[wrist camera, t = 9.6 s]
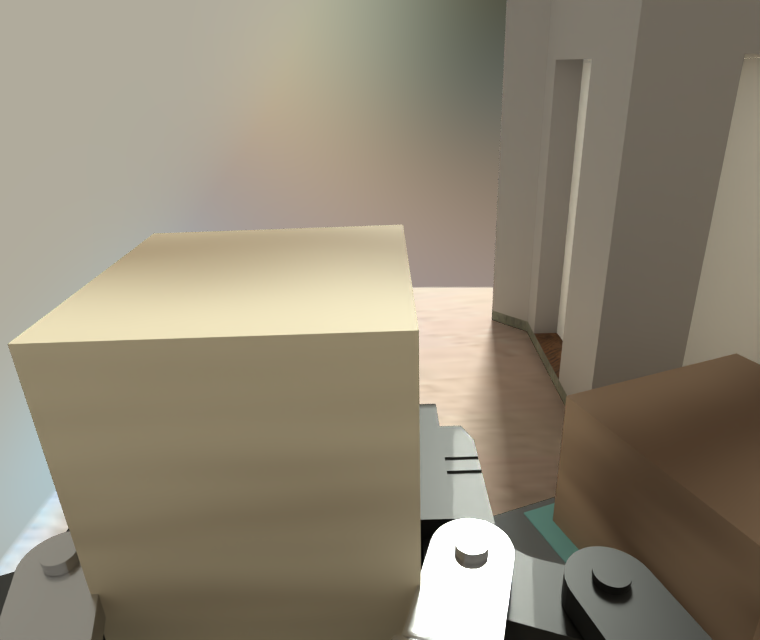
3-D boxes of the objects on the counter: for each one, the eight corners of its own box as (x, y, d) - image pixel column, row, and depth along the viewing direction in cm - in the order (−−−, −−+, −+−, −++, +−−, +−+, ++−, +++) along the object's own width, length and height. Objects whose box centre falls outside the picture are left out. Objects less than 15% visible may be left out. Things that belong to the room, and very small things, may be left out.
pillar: (424, 894, 11) (418, 330, 6) (192, 899, 11) (8, 343, 6) (412, 670, 15) (402, 224, 10) (241, 674, 15) (153, 233, 10)
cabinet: (916, 442, 25) (1336, -575, 13) (869, 572, 19) (1559, -1077, 7) (506, 312, 39) (537, -233, 27) (405, 362, 33) (391, -308, 21)
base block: (919, 620, 16) (990, 475, 14) (727, 715, 14) (778, 560, 12) (708, 469, 22) (736, 353, 20) (552, 520, 20) (566, 395, 18)
